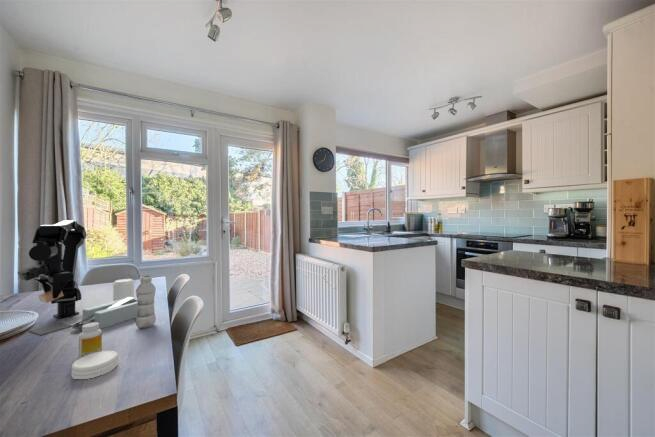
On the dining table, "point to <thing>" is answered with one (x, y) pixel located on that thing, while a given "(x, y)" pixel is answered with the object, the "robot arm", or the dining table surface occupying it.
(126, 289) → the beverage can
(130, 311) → the grey-green channel block
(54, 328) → the pad
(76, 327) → the lever
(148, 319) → the plastic bottle
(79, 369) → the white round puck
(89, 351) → the supplement bottle
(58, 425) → the dining table surface
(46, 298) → the tile
